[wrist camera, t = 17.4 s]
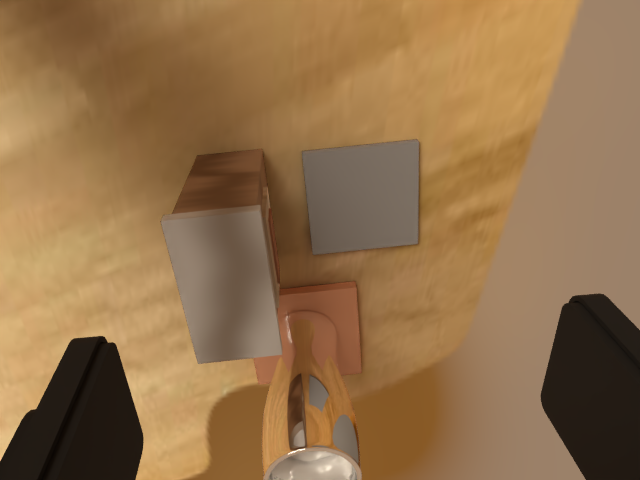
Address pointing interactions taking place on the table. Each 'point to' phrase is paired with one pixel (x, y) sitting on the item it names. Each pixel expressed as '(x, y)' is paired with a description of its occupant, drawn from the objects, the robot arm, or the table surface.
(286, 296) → the terracotta coaster
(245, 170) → the brown two-tone block
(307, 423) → the beer glass
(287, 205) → the table surface
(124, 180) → the table surface
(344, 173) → the slate grey mat
